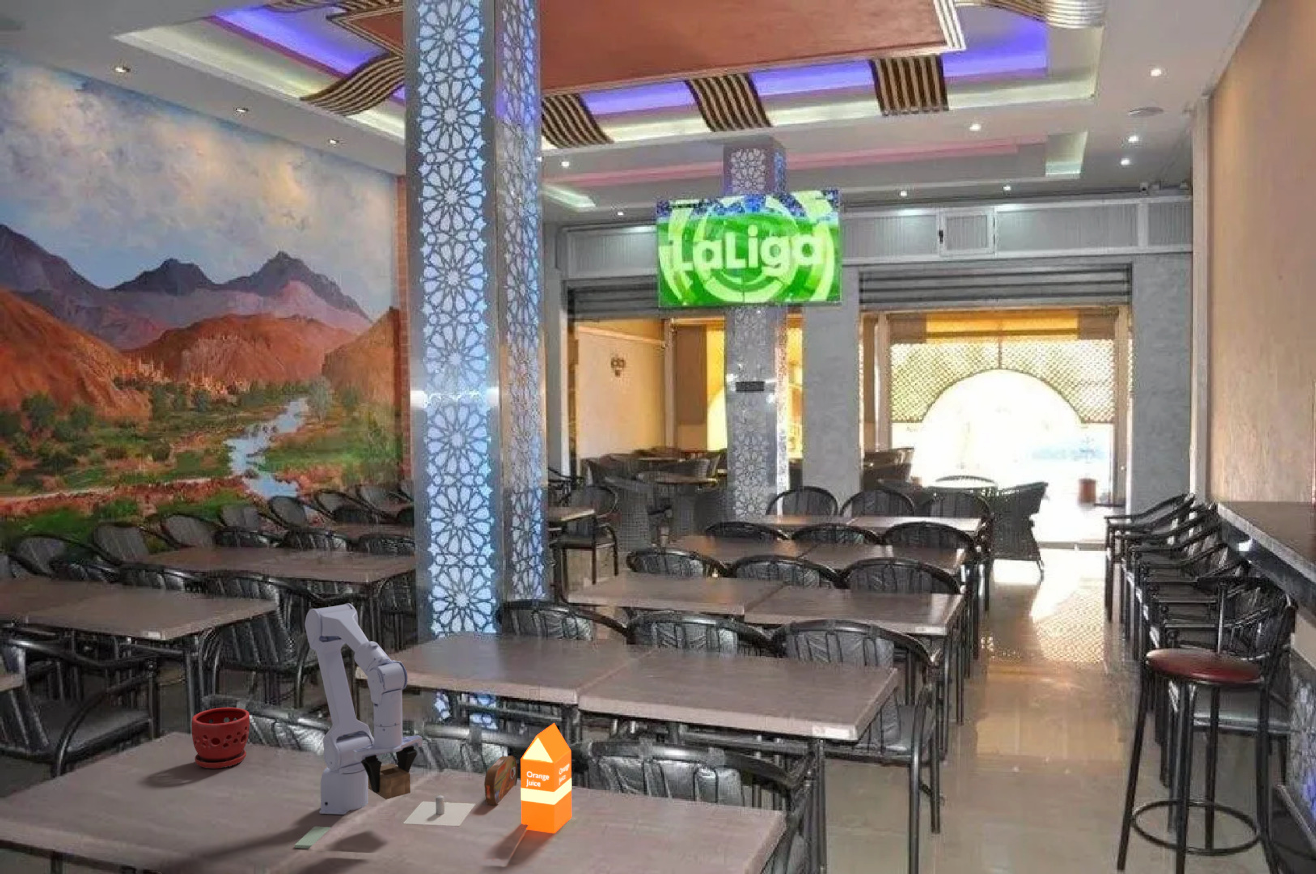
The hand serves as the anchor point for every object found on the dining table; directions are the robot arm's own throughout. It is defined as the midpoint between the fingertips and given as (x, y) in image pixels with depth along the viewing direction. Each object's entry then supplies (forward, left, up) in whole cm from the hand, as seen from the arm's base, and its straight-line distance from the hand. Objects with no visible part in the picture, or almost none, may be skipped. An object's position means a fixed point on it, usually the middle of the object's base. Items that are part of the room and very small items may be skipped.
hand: (389, 787), depth 219 cm
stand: (+8, +7, -9) cm, 14 cm away
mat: (-7, -6, -9) cm, 12 cm away
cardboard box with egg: (0, 0, -1) cm, 1 cm away
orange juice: (+31, +7, -9) cm, 33 cm away
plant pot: (-56, +34, -9) cm, 66 cm away
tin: (+18, +19, -9) cm, 28 cm away
